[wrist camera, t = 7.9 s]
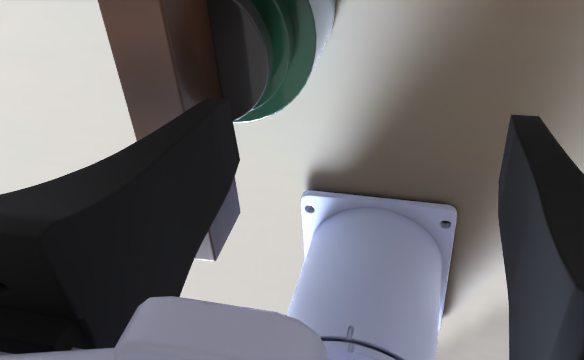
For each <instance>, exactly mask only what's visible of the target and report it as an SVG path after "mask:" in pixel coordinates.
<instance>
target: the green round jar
mask: <svg viewBox="0 0 584 360" xmlns="http://www.w3.org/2000/svg"><path fill="white" fill-rule="evenodd" d="M206 1H207V7H208V13H209V19H210V26H211V32H212V38H213V44H214V50H215V57H216V63H217V69H218V75H219V82H220V88H221V94H222V99H228V100H229V105H230V110H231V115H232V121H233V123H244V122H252V121H256V120H260V119H263V118H266V117H268V116H271V115H273V114H275V113H277V112H278V111H280V110H282V109H283V108H284V107H286V106H287V105H288V104H290V103H291V102H292V101H293V100H294V99H295V98H296V97H297V95H298V94H299V93H300V92H301V90H302V89H303V87H304V86H305V84H306V82H307V80H308V78H309V76H310V74H311V72H312V70H313V68H314V66H315V64H316V62H317V60H318V58H319V56H320V54H321V52H322V50H323V48H324V46H325V44H326V42H327V40H328V38H329V36H330V33H331V30H332V27H333V22H334V16H335V0H206Z"/></svg>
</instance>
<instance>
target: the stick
mask: <svg viewBox="0 0 584 360" xmlns="http://www.w3.org/2000/svg"><path fill="white" fill-rule="evenodd" d="M98 3H99V7H100V10H101V14H102V17H103V21H104V24H105V28H106V32H107V35H108V39H109V42H110V46H111V50H112V53H113V57H114V60H115V64H116V68H117V71H118V75H119V78H120V82H121V86H122V89H123V93H124V96H125V100H126V103H127V107H128V111H129V114H130V118H131V121H132V125H133V129H134V132H135V136H136V139H137V141H139V140H140V139H142V138H144V137H146V136H147V135H149V134H151V133H152V132H154V131H156V130H157V129H159V128H160V127H162V126H163V125H165V124H167V123H168V122H170V121H171V120H173V119H174V118H176V117H177V116H179V115H180V114H182V113H184V112H185V111H187V110H188V109H190V108H191V107H193V106H195V105H196V104H198V103H200V102H201V101H203V100H205V99H207V98H212V99H222V94H221V88H220V82H219V75H218V69H217V63H216V57H215V50H214V44H213V38H212V32H211V26H210V19H209V13H208V7H207V1H206V0H98ZM239 214H240V207H239V200H238V194H237V188H236V182H235V177H234V179H233V182H232V185H231V188H230V190H229V192H228V194H227V196H226V198H225V200H224V202H223V204H222V206H221V208H220V210H219V212H218V214H217V216H216V218H215V219H214V221H213V223H212V225H211V227H210V229H209V231H208V233H207V235H206V236H205V238H204V240H203V242H202V244H201V246H200V248H199V250H198V252H197V254H196V256H195V258H194V259H200V260H207V261H216V260H217V258H218V256H219V254H220V252H221V250H222V248H223V246H224V244H225V242H226V240H227V238H228V236H229V234H230V232H231V230H232V228H233V226H234V224H235V222H236V220H237V218H238V216H239Z"/></svg>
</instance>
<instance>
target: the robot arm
mask: <svg viewBox="0 0 584 360" xmlns="http://www.w3.org/2000/svg"><path fill="white" fill-rule="evenodd" d="M239 161H240V158H239V153H238V147H237V142H236V137H235V131H234V126H233V121H232V115H231V110H230V105H229V100H228V99H212V98H207V99H205V100H203V101H201V102H200V103H198V104H196V105H195V106H193V107H191V108H190V109H188V110H187V111H185V112H184V113H182V114H180V115H179V116H177V117H176V118H174V119H173V120H171V121H170V122H168V123H167V124H165V125H163V126H162V127H160V128H159V129H157V130H156V131H154V132H152V133H151V134H149V135H147V136H146V137H144V138H142V139H140V140H139V141H137V142H135V143H134V144H132V145H130V146H128V147H127V148H125V149H123V150H121V151H119V152H117V153H115V154H113V155H111V156H110V157H107V158H105V159H103V160H101V161H99V162H97V163H95V164H92V165H90V166H88V167H85V168H83V169H80V170H78V171H75V172H72V173H70V174H67V175H65V176H62V177H59V178H57V179H54V180H51V181H48V182H45V183H41V184H38V185H35V186H32V187H28V188H25V189H21V190H17V191H14V192H10V193H5V194H1V195H0V360H437V345H438V330H439V329H440V328H441V322H442V316H443V309H444V302H445V295H446V288H447V282H448V275H449V268H450V261H451V255H452V248H453V241H454V234H455V227H456V221H457V210H456V209H455V208H454V207H453V206H450V205H445V204H435V203H426V202H416V201H407V200H397V199H388V198H378V197H368V196H359V195H349V194H340V193H330V192H321V191H311V190H310V191H305V192H304V193H303V194H302V196H301V213H302V226H303V240H304V253H305V261H304V265H303V268H302V271H301V274H300V277H299V280H298V283H297V286H296V289H295V292H294V295H293V298H292V301H291V304H290V307H289V310H288V313H287V315H283V314H280V313H277V312H272V311H266V310H259V309H253V308H246V307H240V306H233V305H227V304H220V303H214V302H207V301H201V300H194V299H188V298H181V297H180V294H181V291H182V288H183V286H184V283H185V281H186V278H187V275H188V273H189V270H190V268H191V265H192V263H193V260H194V258H195V256H196V254H197V252H198V250H199V248H200V246H201V244H202V242H203V240H204V238H205V236H206V235H207V233H208V231H209V229H210V227H211V225H212V223H213V221H214V219H215V218H216V216H217V214H218V212H219V210H220V208H221V206H222V204H223V202H224V200H225V198H226V196H227V194H228V192H229V190H230V188H231V185H232V182H233V179H234V177H235V174H236V171H237V167H238V164H239ZM308 205H310V206H313V207H314V208H309V207H308ZM498 217H499V226H500V234H501V242H502V250H503V257H504V265H505V273H506V280H507V288H508V300H509V360H584V174H583V173H582V172H581V171H580V169H579V168H578V167H577V166H576V165H575V163H574V162H573V161H572V160H571V159H570V157H569V156H568V155H567V154H566V152H565V151H564V150H563V149H562V147H561V146H560V145H559V143H558V142H557V140H556V139H555V138H554V136H553V135H552V134H551V132H550V131H549V129H548V128H547V126H546V125H545V124H544V122H543V121H542V120H541V118H540V117H539V116H526V115H511V118H510V123H509V128H508V134H507V139H506V145H505V150H504V155H503V161H502V166H501V172H500V177H499V193H498ZM442 221H449V223H443V222H442Z"/></svg>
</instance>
